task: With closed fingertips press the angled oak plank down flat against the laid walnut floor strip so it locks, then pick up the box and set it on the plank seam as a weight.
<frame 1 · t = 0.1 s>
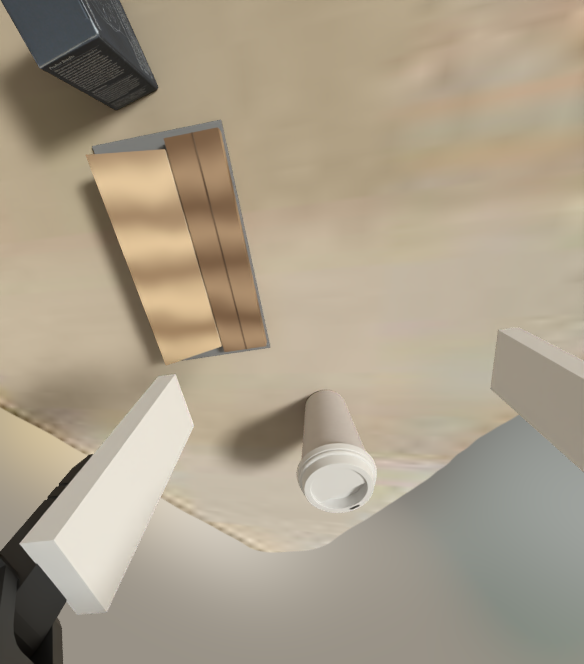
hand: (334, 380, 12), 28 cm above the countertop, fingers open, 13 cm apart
box: (118, 59, 30), on the countertop
coffee cup: (325, 405, 47), on the countertop
underlay: (193, 259, 37), on the countertop
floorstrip: (224, 254, 37), resting on underlay
plank: (165, 266, 35), point 3 cm above the countertop, hinge at 28.0°
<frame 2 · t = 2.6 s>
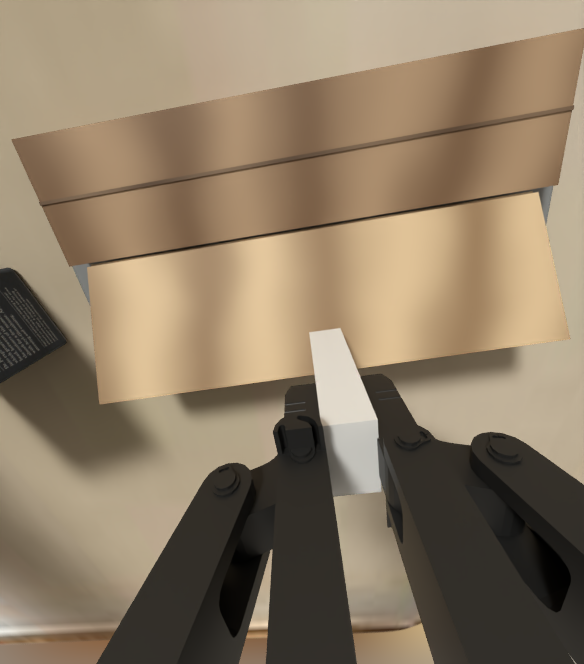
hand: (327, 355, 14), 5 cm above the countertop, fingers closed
underlay: (304, 247, 17), on the countertop
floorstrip: (293, 167, 16), resting on underlay
plank: (313, 301, 16), point 3 cm above the countertop, hinge at 27.2°, touching gripper
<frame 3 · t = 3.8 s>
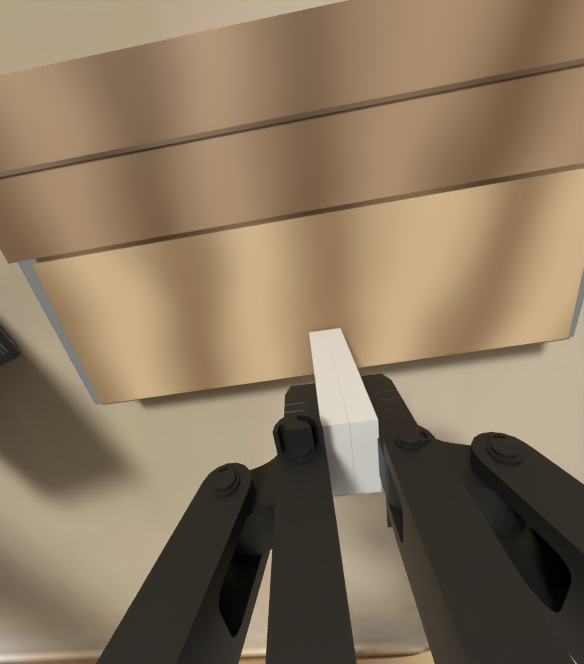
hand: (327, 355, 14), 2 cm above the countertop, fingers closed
underlay: (304, 238, 14), on the countertop
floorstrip: (290, 135, 12), resting on underlay
plank: (312, 296, 14), point 1 cm above the countertop, hinge at 1.7°, touching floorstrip, gripper
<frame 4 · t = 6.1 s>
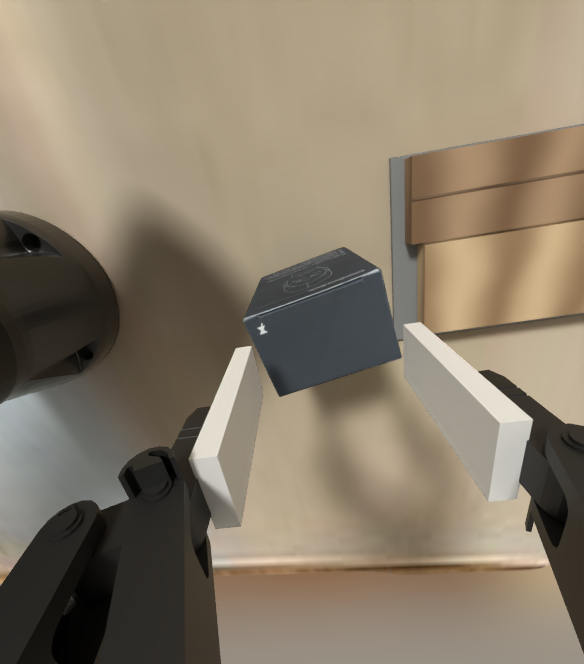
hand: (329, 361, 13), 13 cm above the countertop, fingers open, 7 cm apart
box: (312, 290, 26), on the countertop
underlay: (564, 232, 24), on the countertop
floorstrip: (575, 174, 22), resting on underlay
plank: (570, 267, 23), point 1 cm above the countertop, hinge at 2.0°, touching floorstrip
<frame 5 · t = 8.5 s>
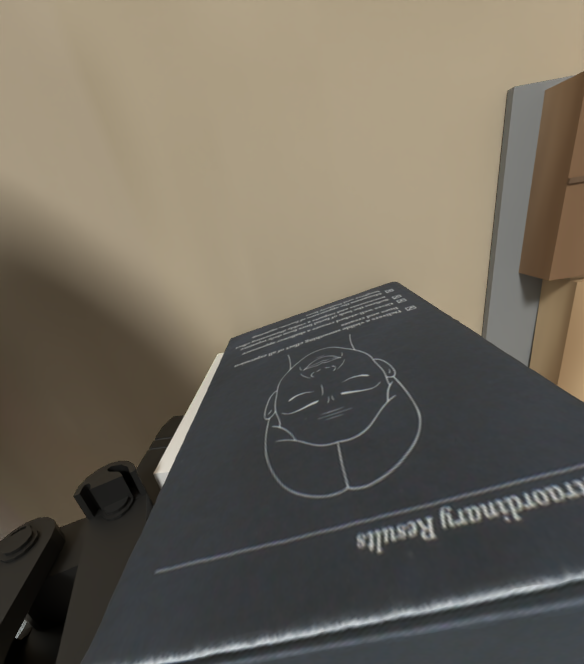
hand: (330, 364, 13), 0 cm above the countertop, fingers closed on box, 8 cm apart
box: (328, 358, 14), on the countertop, touching gripper
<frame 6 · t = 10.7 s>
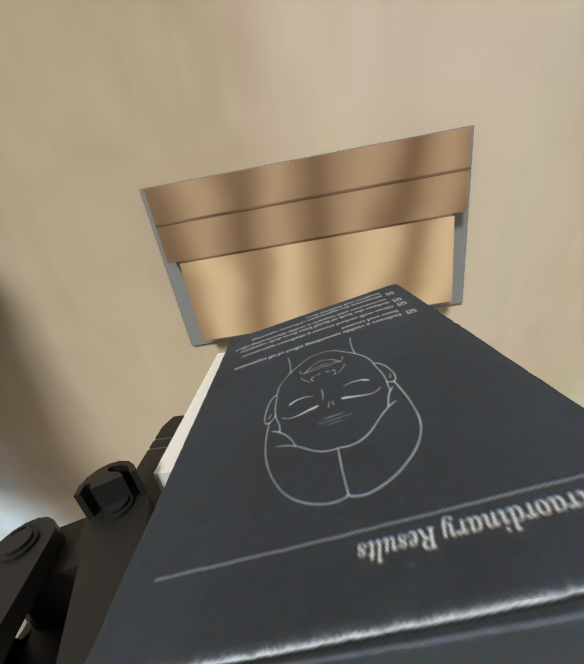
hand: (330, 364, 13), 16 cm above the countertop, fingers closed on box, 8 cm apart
box: (329, 360, 14), point 16 cm above the countertop, touching gripper
underlay: (313, 250, 27), on the countertop
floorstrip: (306, 201, 25), resting on underlay
plank: (318, 280, 27), point 1 cm above the countertop, hinge at 2.0°, touching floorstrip
when the fingers open (4 cm above the countertop, at t = 13.4 s): box drops 1 cm, resting on plank.
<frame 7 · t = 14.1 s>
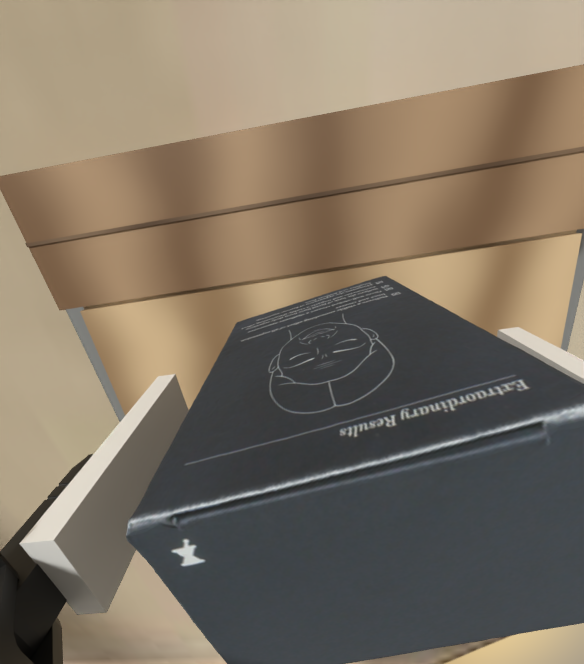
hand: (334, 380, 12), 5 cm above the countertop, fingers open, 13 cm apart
box: (324, 345, 15), point 2 cm above the countertop, touching plank
underlay: (316, 286, 16), on the countertop
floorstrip: (306, 202, 14), resting on underlay
plank: (324, 338, 16), point 1 cm above the countertop, hinge at 2.0°, touching box, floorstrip
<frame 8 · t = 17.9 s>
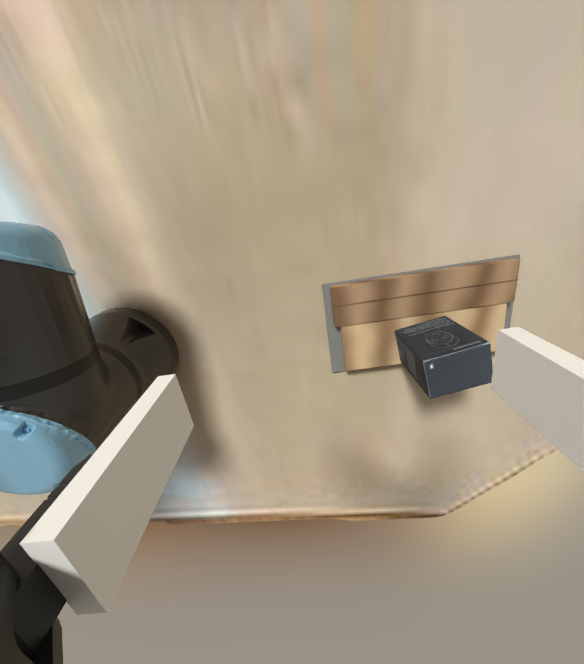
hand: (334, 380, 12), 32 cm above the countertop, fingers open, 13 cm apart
box: (421, 338, 44), point 2 cm above the countertop, touching plank
underlay: (417, 318, 44), on the countertop
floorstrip: (418, 291, 43), resting on underlay
plank: (420, 336, 44), point 1 cm above the countertop, hinge at 2.0°, touching box, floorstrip
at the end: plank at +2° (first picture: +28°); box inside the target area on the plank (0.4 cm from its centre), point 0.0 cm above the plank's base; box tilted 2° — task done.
